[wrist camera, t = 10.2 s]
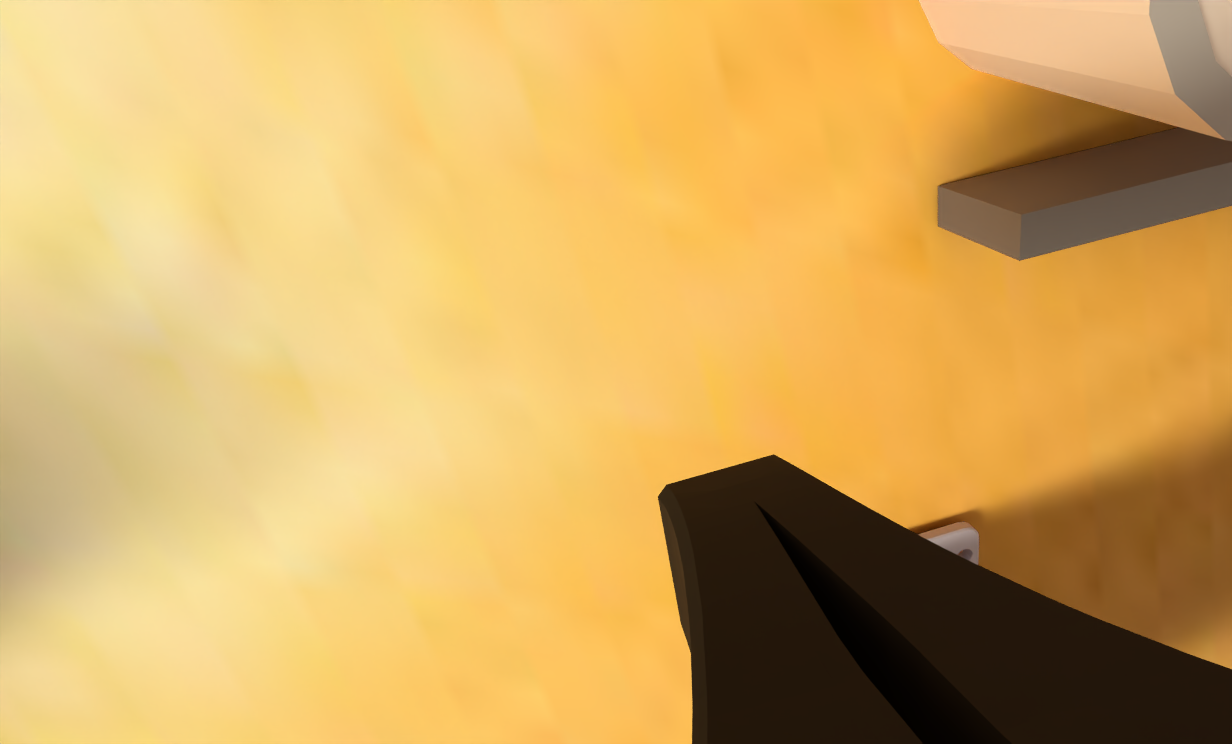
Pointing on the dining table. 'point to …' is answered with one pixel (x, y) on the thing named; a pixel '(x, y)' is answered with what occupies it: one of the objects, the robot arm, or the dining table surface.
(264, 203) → the dining table surface
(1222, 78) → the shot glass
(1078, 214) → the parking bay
